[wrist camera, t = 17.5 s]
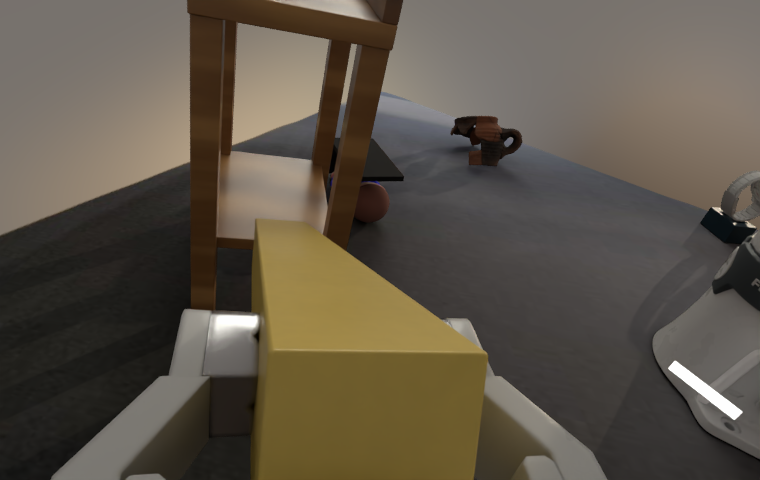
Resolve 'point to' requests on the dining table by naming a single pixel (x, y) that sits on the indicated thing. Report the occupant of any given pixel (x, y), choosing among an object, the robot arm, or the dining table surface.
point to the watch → (725, 218)
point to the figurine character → (371, 182)
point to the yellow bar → (354, 370)
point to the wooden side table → (272, 173)
